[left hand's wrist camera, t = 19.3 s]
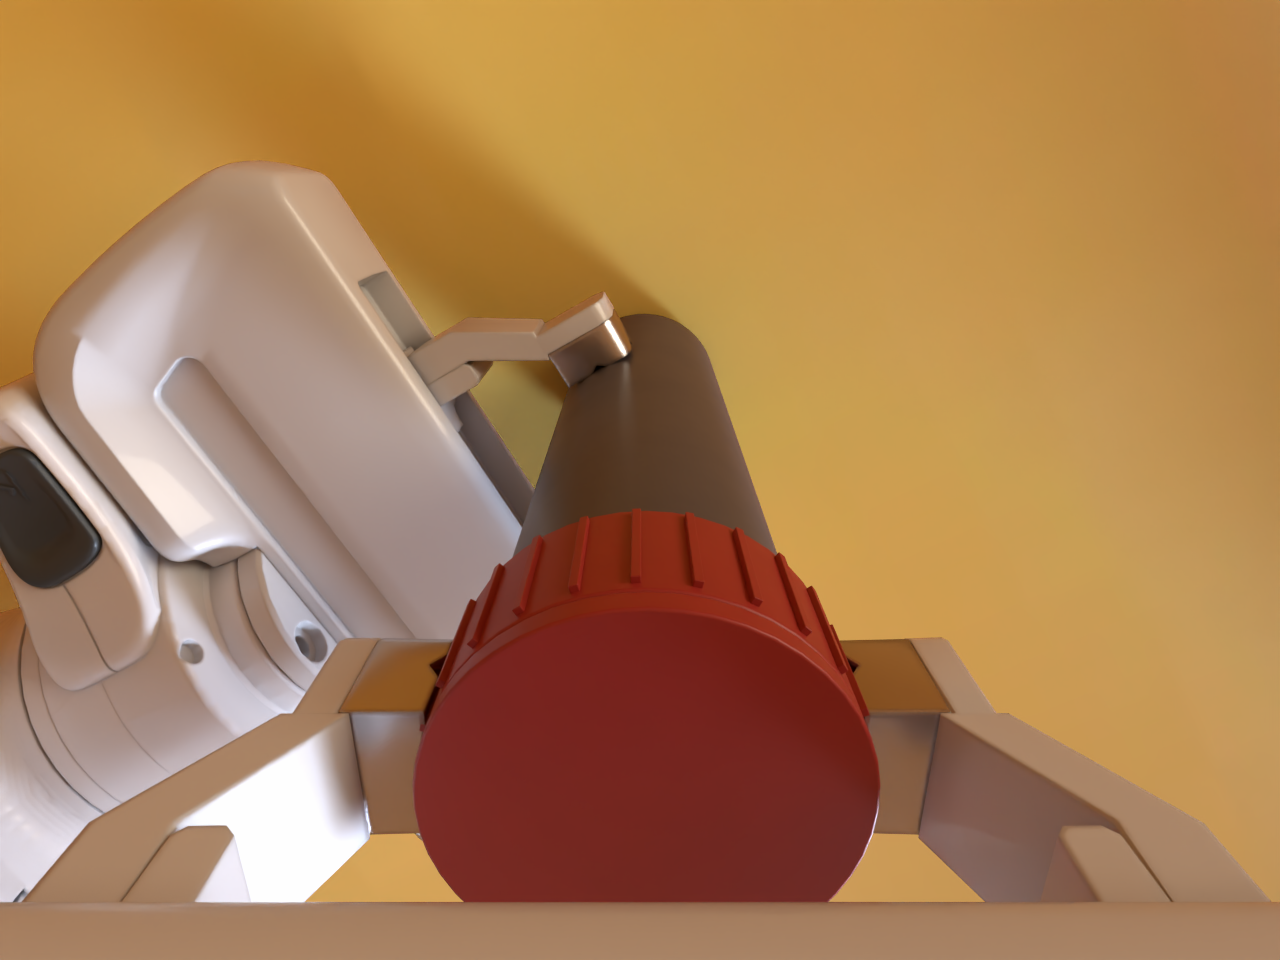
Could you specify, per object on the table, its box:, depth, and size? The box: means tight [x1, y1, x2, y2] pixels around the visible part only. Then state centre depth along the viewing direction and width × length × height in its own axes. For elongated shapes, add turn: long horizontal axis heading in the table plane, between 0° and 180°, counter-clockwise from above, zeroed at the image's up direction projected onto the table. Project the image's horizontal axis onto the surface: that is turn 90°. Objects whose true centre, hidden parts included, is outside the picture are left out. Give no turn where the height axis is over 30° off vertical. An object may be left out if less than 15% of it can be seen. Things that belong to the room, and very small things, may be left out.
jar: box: [512, 314, 777, 558], centre depth 17 cm, size 4×4×17 cm
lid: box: [412, 508, 881, 902], centre depth 9 cm, size 5×5×2 cm
